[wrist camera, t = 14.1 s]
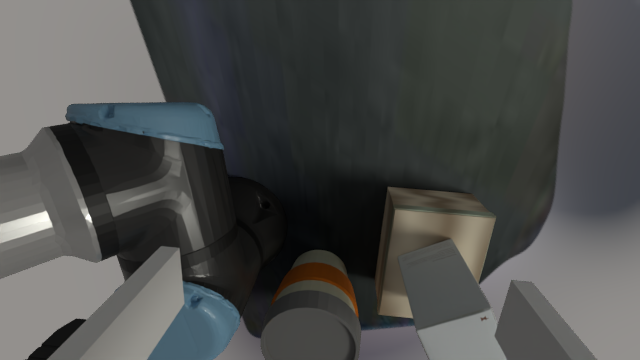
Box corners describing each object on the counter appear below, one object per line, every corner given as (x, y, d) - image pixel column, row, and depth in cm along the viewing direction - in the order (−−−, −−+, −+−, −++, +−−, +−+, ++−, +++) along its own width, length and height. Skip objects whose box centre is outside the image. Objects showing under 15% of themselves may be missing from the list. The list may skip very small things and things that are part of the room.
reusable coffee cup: (349, 233, 51) (350, 298, 37) (364, 299, 55) (370, 381, 41) (272, 246, 53) (245, 313, 39) (292, 309, 57) (274, 391, 43)
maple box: (373, 279, 54) (378, 315, 46) (386, 185, 48) (394, 208, 41) (450, 287, 53) (468, 324, 46) (473, 193, 48) (496, 217, 40)
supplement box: (395, 255, 43) (414, 329, 31) (452, 236, 41) (495, 306, 30) (414, 299, 45) (438, 385, 33) (469, 283, 44) (515, 366, 32)
